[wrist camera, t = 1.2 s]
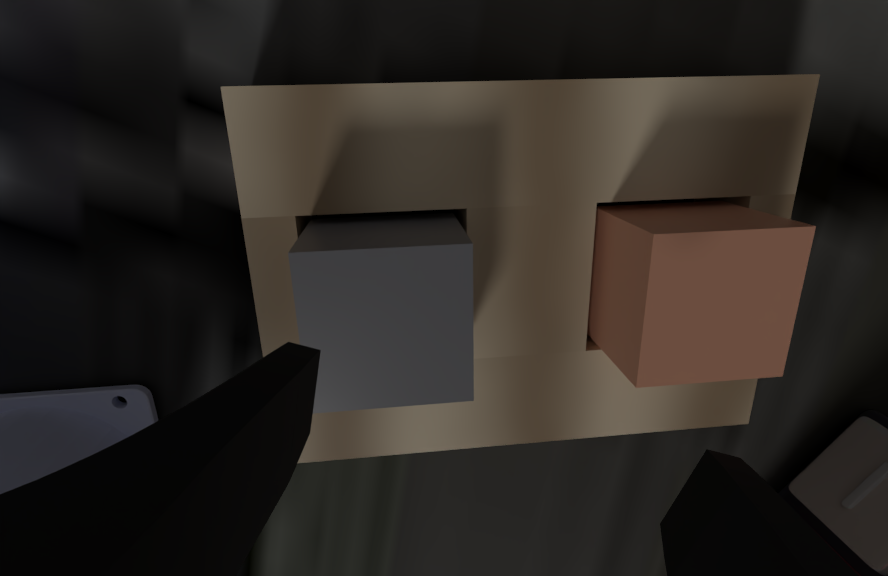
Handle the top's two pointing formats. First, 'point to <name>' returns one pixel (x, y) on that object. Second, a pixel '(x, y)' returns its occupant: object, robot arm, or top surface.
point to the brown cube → (695, 290)
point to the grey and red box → (849, 494)
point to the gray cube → (386, 309)
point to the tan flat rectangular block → (511, 226)
